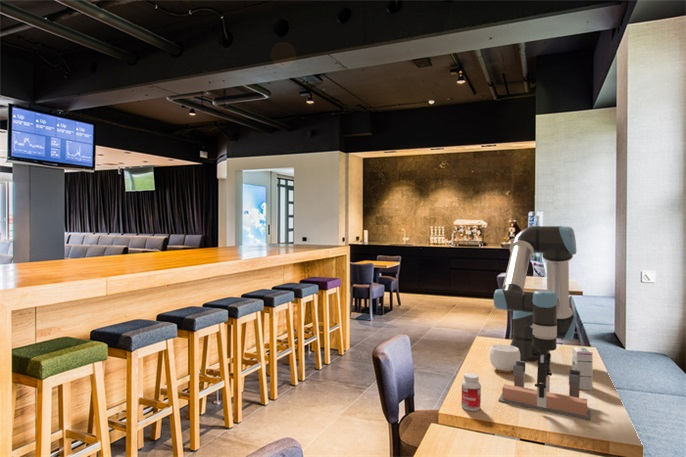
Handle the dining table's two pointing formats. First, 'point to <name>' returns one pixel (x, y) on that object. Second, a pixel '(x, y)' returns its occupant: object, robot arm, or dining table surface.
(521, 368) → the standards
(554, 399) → the rail
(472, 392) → the pill bottle
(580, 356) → the syrup box
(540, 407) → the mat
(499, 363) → the cup
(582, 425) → the dining table surface
